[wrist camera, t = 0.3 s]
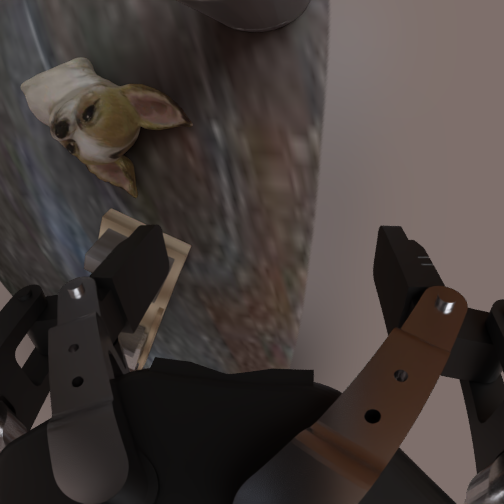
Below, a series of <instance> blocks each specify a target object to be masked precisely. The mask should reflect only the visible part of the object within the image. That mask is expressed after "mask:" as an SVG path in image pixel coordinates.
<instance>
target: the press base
mask: <svg viewBox="0 0 504 504" xmlns="http://www.w3.org/2000/svg"><path fill="white" fill-rule="evenodd" d="M140 225H146V224H144V223H142V222H139V221H137V220H135V219H133V218H131V217H129V216H127V215H125V214H122V213H120V212H118V211H116V210H114V209H112V208H111V209H110V210H109V211H108V212H107V213H106V214H105V215H104V216H103V217H102V222H101V228H100V233H99V239H98V240H97V242H96V243H95V244H94V245H93V246H92V247H91V248H90V250H89V251H88V252H87V253H86V254H85V263H84V269H85V270H87V271H89V272H91V273H93V272H94V271H95V269H96V268H97V267H98V266H99V265H100V264H101V263H102V261H103V260H104V259H106V257H107V256H108V255H109V254H110V253H111V251H112V250H113V249H114V248H115V247H116V246H117V245H118V244H119V243H121V242H122V241H124V240H125V239H127V238H128V237H129V236H130V235H131V234H132V233H133V232H134V231H135V230H136V229H137V227H138V226H140ZM163 237H164V241H165V246H166V250H167V254H168V258H169V272H168V275H167V277H166V279H165V280H164V282H163V284H162V285H161V287H160V289H159V291H158V292H157V294H156V296H155V297H154V299H153V301H152V303H151V304H150V306H149V308H148V310H147V311H146V313H145V315H144V317H143V318H142V320H141V322H140V324H139V325H141V326H143V327H145V328H146V329H145V332H144V333H146V334H147V337H146V340H145V343H144V346H143V349H142V353H141V356H140V358H139V360H138V363H139V367H138V370H141V369H142V368H143V365H145V362H146V360H147V357H148V355H149V352H150V349H151V347H152V344H153V341H154V338H155V336H156V333H157V330H158V328H159V325H160V323H161V320H162V317H163V315H164V312H165V310H166V307H167V305H168V302H169V299H170V297H171V294H172V292H173V289H174V287H175V284H176V282H177V279H178V277H179V275H180V272H181V270H182V267H183V265H184V262H185V260H186V258H187V255H188V253H189V250H190V248H191V245H189V244H187V243H185V242H183V241H181V240H178V239H176V238H174V237H172V236H170V235H167V234H165V233H163Z"/></svg>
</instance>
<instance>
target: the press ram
mask: <svg viewBox="0 0 504 504" xmlns="http://www.w3.org/2000/svg"><path fill="white" fill-rule="evenodd" d="M145 329H146V328H145V327H143V326H141V325H138V327H137V329H136V331H135V333H134V334H131V333H124V332H120V334H119V336H118V337H119V339H120V341H121V344H122V347H123V351H124V354H125V358H126V361H127V364H128V367H129V368H131V369H133V370H135V367H136V365H137V363H138V360H139V358H140V356H141V353H142V349H143V346H144V343H145V340H146V337H147V334H146V333H144V332H145Z"/></svg>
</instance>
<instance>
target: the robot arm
mask: <svg viewBox="0 0 504 504" xmlns="http://www.w3.org/2000/svg"><path fill="white" fill-rule="evenodd" d="M176 1H178V2H180V3H182V4H185V5H187V6H189V7H191V8H193V9H195V10H197V11H199V12H201V13H203V14H205V15H207V16H209V17H211V18H213V19H215V20H217V21H219V22H221V23H223V24H224V25H226V26H228V27H230V28H233V29H237V30H240V31H246V32H265V31H270V30H275V29H278V28H280V27H283V26H285V25H287V24H289V23H290V22H292V21H294V20H295V19H296V18H298V17H299V16H300V15H301V14H302V13H303V12H304V10H305V9H306V7H307V6H308V4H309V2H310V0H176ZM168 272H169V258H168V254H167V250H166V246H165V241H164V237H163V232H162V229H161V227H160V226H159V225H140V226H138V227H137V229H136V230H135V231H134V232H133V233H132V234H131V235H130V236H129V237H128V238H127V239H125V240H124V241H122V242H121V243H119V244H118V245H117V246H116V247H115V248H114V249H113V250H112V251H111V253H110V254H109V255H108V256H107V257H106V259H104V260H103V261H102V263H101V264H100V265H99V266H98V267H97V268H96V269H95V271H94V272H93V273H92V274H91V275H90V276H89V277H85V276H84V277H78V278H75V279H73V280H71V281H69V282H67V283H66V284H65V285H63V286H62V287H61V289H60V290H59V292H58V295H53V296H47V297H45V295H44V293H43V291H42V289H41V287H40V286H39V285H29V286H26V287H24V288H22V289H21V290H19V291H18V292H17V293H16V294H15V295H14V296H13V297H12V298H11V299H10V300H9V302H8V303H7V304H6V305H5V306H4V308H3V309H2V310H1V311H0V504H456V503H455V502H454V501H453V500H452V499H451V498H450V497H449V496H448V495H447V494H446V493H445V492H444V491H443V490H442V489H441V488H440V487H439V486H438V485H437V484H435V482H434V481H432V480H431V479H430V478H429V477H428V476H427V475H426V474H425V473H424V472H423V471H422V470H421V469H420V468H419V467H418V466H417V465H416V464H415V463H414V462H413V461H412V460H411V459H410V458H409V457H408V456H407V455H406V454H405V453H404V452H403V451H402V450H401V449H400V448H399V447H400V445H401V443H402V442H403V440H404V439H405V437H406V436H407V434H408V433H409V431H410V429H411V428H412V426H413V424H414V423H415V421H416V419H417V418H418V416H419V414H420V413H421V411H422V409H423V407H424V405H425V403H426V402H427V400H428V398H429V396H430V394H431V393H432V391H433V389H434V387H435V385H436V383H437V380H438V379H439V377H440V375H441V376H446V377H451V378H456V379H460V383H461V387H462V391H463V395H464V400H465V405H466V409H467V414H468V418H469V424H470V430H471V435H472V441H473V448H474V454H475V462H476V469H477V475H476V476H475V477H474V478H473V479H472V480H471V482H470V484H469V486H468V489H467V494H466V499H465V504H504V382H503V379H502V376H501V372H502V371H503V372H504V300H498V301H496V302H495V303H494V304H493V307H492V308H491V310H490V312H485V311H480V310H475V309H471V308H468V304H467V301H466V300H465V298H464V297H463V296H462V295H461V294H460V293H459V292H458V291H456V290H454V289H452V288H449V287H446V286H445V285H444V283H443V281H442V280H441V278H440V276H439V274H438V272H437V270H436V269H435V267H434V265H433V264H432V261H431V260H430V258H429V256H428V254H427V253H426V251H425V249H424V248H423V247H422V246H421V245H420V244H418V243H417V242H416V241H414V240H408V238H407V236H406V234H405V233H404V231H403V229H402V227H401V226H380V228H379V231H378V238H377V245H376V252H375V259H374V268H373V276H374V282H375V286H376V289H377V293H378V297H379V300H380V304H381V308H382V312H383V316H384V320H385V324H386V328H387V332H388V337H387V338H386V340H385V341H384V342H383V344H382V345H381V346H380V347H379V349H378V350H377V351H376V353H375V354H374V355H373V357H372V358H371V359H370V361H369V362H368V363H367V364H366V366H365V367H364V368H363V369H362V371H361V372H360V373H359V374H358V375H357V377H356V378H355V379H354V380H353V381H352V383H351V384H350V385H349V386H348V387H347V389H346V390H345V391H344V392H343V393H341V392H340V391H338V390H335V389H333V388H331V387H329V386H326V385H323V384H320V383H316V382H313V381H314V370H292V369H267V370H260V371H253V372H245V373H237V374H225V373H221V372H218V371H215V370H212V369H209V368H206V367H204V366H201V365H198V364H195V363H192V362H187V361H179V360H172V359H164V358H158V357H155V358H154V361H153V363H152V365H151V367H150V368H147V369H141V370H136V371H133V372H130V371H129V367H128V364H127V361H126V358H125V354H124V351H123V347H122V344H121V341H120V339H119V337H118V336H119V334H120V332H124V333H131V334H134V333H135V331H136V329H137V327H138V325H139V324H140V322H141V320H142V318H143V317H144V315H145V313H146V311H147V310H148V308H149V306H150V304H151V303H152V301H153V299H154V297H155V296H156V294H157V292H158V291H159V289H160V287H161V285H162V284H163V282H164V280H165V279H166V277H167V275H168ZM26 334H28V336H29V337H30V339H31V341H32V342H33V344H34V345H35V349H34V350H33V351H32V353H31V355H30V356H29V358H28V360H27V361H26V362H25V364H24V366H23V367H22V369H21V367H20V366H19V365H18V363H17V361H16V358H15V351H16V348H17V346H18V345H19V344H20V342H21V341H22V339H23V338H24V336H25V335H26ZM49 391H50V398H51V409H52V418H50V419H49V420H47V421H45V422H44V423H42V424H40V425H38V426H37V427H35V428H33V429H32V430H30V429H31V427H32V425H33V423H34V421H35V419H36V417H37V415H38V413H39V411H40V409H41V407H42V405H43V403H44V401H45V399H46V397H47V395H48V393H49Z"/></svg>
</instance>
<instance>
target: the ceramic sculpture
mask: <svg viewBox="0 0 504 504" xmlns="http://www.w3.org/2000/svg"><path fill="white" fill-rule="evenodd" d="M21 90H22V91H23V92H24V94H25V97H26V100H27V103H28V105H29V108H30V110H31V111H32V112H33V113H34V115H35V117H36V118H37V119H38V120H40V121H41V122H42V123H44V124H46V125H47V126H49V127H50V129H51V130H50V132H51V135H52V137H53V138H54V139H55V140H57V141H59V142H60V143H61V144H62V145H63V146H64V147H65V148H66V149H67V150H68V151H69V152H70V153H71V154H72V155H75V156H76V157H77V158H78V159H79V160H80V161H81V162H83V163H85V165H86V166H87V168H88V170H89V171H90V172H91V173H93V174H95V175H96V176H97V177H98V178H99V179H101V180H103V181H105V182H110V184H113V185H115V186H118V187H121V188H123V189H125V190H126V191H127V192H128V193H129V194H130V195H132V196H133V197H134V198H137V196H138V192H137V186H136V179H135V171H134V165H133V163H132V162H131V160H130V159H128V158H127V157H126V156H124V155H123V154H124V153H125V152H127V151H128V150H129V149H130V148H131V147H132V146H133V145H134V143H135V141H136V140H137V137H138V135H139V132H140V127H143V128H146V129H150V130H164V129H169V128H174V127H179V126H184V127H192V125H193V124H192V122H191V121H190V120H189V118H188V117H187V116H186V114H185V113H184V111H183V110H182V108H180V106H179V105H178V104H177V103H176V102H174V101H173V100H172V99H171V98H170V97H169V96H167V95H166V94H164V93H162V92H160V91H159V90H156V89H154V88H152V87H148V86H146V85H143V84H127V85H124V86H117V85H115V84H114V83H112V82H110V81H109V80H106V79H103V78H101V77H100V76H98V75H96V73H95V71H94V68H93V65H92V64H91V62H90V61H89V60H88V59H86V58H75V59H73V60H71V61H69V62H66V63H64V64H61V65H59V66H57V67H54V68H52V69H50V70H48V71H45V72H42V73H39V74H38V75H36V76H34V77H33V78H31V79H29V80H27V81H25V82H24V83H23V84H22V85H21Z"/></svg>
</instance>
